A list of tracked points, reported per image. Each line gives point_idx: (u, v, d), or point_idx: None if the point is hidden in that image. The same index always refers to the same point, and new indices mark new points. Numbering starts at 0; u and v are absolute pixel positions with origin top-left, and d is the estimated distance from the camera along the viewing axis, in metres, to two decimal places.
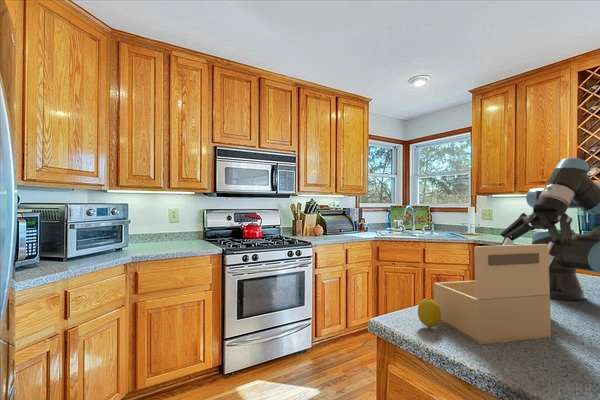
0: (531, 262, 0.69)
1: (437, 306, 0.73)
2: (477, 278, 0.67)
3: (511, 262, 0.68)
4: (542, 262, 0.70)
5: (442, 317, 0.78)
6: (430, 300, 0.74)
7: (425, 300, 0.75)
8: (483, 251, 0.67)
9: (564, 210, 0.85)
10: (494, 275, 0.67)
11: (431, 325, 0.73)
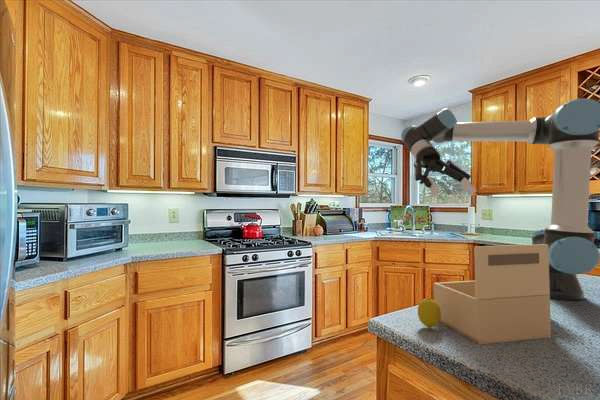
0: (531, 262, 0.69)
1: (437, 306, 0.73)
2: (477, 278, 0.67)
3: (511, 262, 0.68)
4: (542, 262, 0.70)
5: (442, 317, 0.78)
6: (430, 300, 0.74)
7: (425, 300, 0.75)
8: (483, 251, 0.67)
9: (420, 155, 1.04)
10: (494, 275, 0.67)
11: (431, 325, 0.73)
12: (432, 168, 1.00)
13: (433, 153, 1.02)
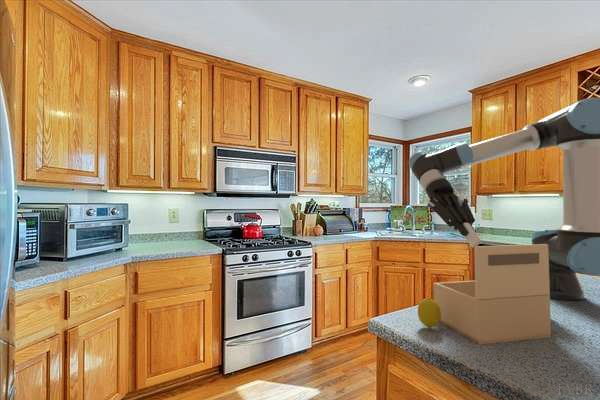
0: (531, 262, 0.69)
1: (437, 306, 0.73)
2: (477, 278, 0.67)
3: (511, 262, 0.68)
4: (542, 262, 0.70)
5: (442, 317, 0.78)
6: (430, 300, 0.74)
7: (425, 300, 0.75)
8: (483, 251, 0.67)
9: (430, 188, 0.92)
10: (494, 275, 0.67)
11: (431, 325, 0.73)
12: (444, 205, 0.88)
13: (445, 187, 0.90)
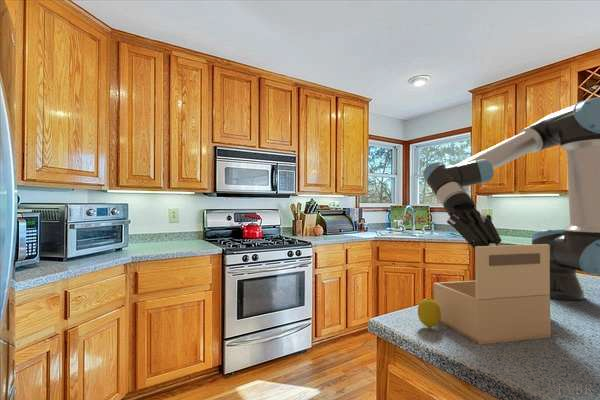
0: (532, 262, 0.69)
1: (437, 306, 0.73)
2: (477, 278, 0.66)
3: (512, 262, 0.68)
4: (543, 262, 0.70)
5: (442, 317, 0.78)
6: (430, 300, 0.74)
7: (425, 300, 0.75)
8: (484, 251, 0.67)
9: (450, 203, 0.84)
10: (495, 275, 0.67)
11: (431, 325, 0.73)
12: (466, 222, 0.80)
13: (467, 202, 0.82)
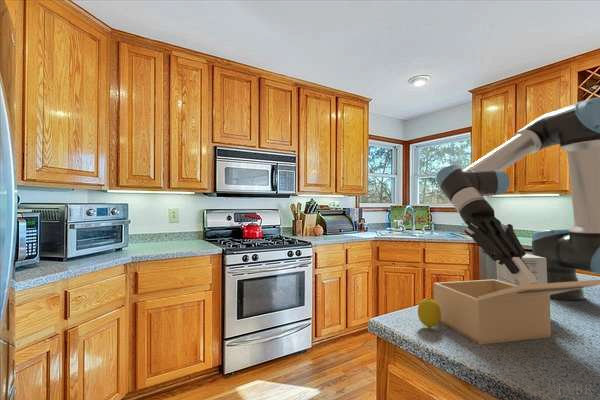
0: (564, 290, 0.62)
1: (437, 306, 0.73)
2: (493, 295, 0.62)
3: (543, 291, 0.61)
4: None
5: (442, 317, 0.78)
6: (430, 300, 0.74)
7: (425, 300, 0.75)
8: (524, 289, 0.57)
9: (467, 210, 0.77)
10: (513, 294, 0.62)
11: (431, 325, 0.73)
12: (486, 232, 0.73)
13: (486, 210, 0.75)
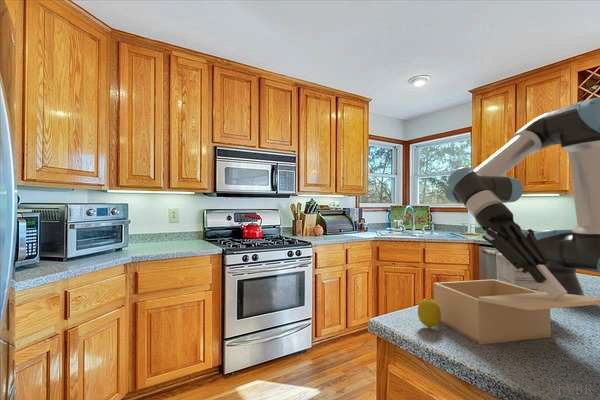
0: None
1: (437, 306, 0.73)
2: (496, 303, 0.62)
3: None
4: None
5: (442, 317, 0.78)
6: (430, 300, 0.74)
7: (425, 300, 0.75)
8: None
9: (484, 215, 0.72)
10: None
11: (431, 325, 0.73)
12: (506, 238, 0.68)
13: (505, 214, 0.70)
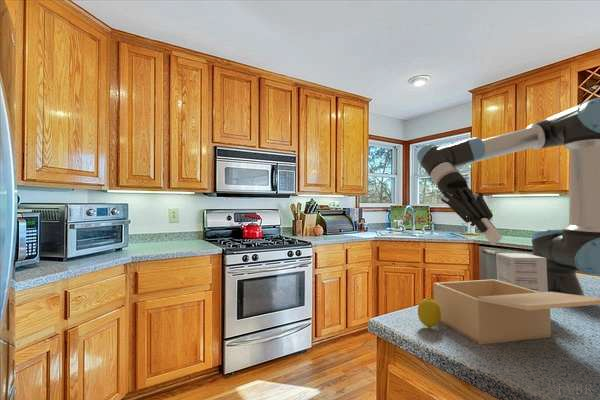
0: None
1: (437, 306, 0.73)
2: (496, 303, 0.62)
3: None
4: None
5: (442, 317, 0.78)
6: (430, 300, 0.74)
7: (425, 300, 0.75)
8: None
9: (443, 182, 0.87)
10: None
11: (431, 325, 0.73)
12: (459, 199, 0.83)
13: (459, 181, 0.85)
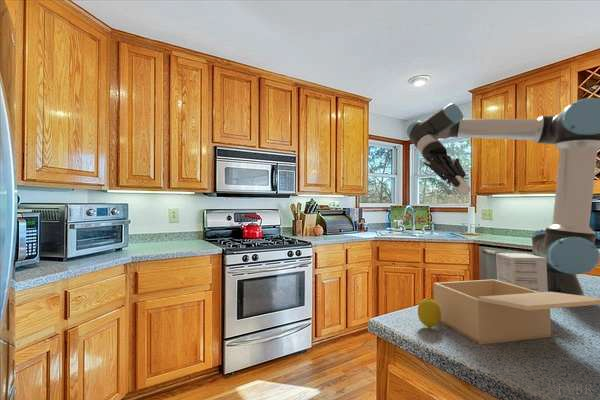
0: None
1: (437, 306, 0.73)
2: (496, 303, 0.62)
3: None
4: None
5: (442, 317, 0.78)
6: (430, 300, 0.74)
7: (425, 300, 0.75)
8: None
9: (426, 150, 1.03)
10: None
11: (431, 325, 0.73)
12: (439, 163, 0.99)
13: (440, 148, 1.02)
